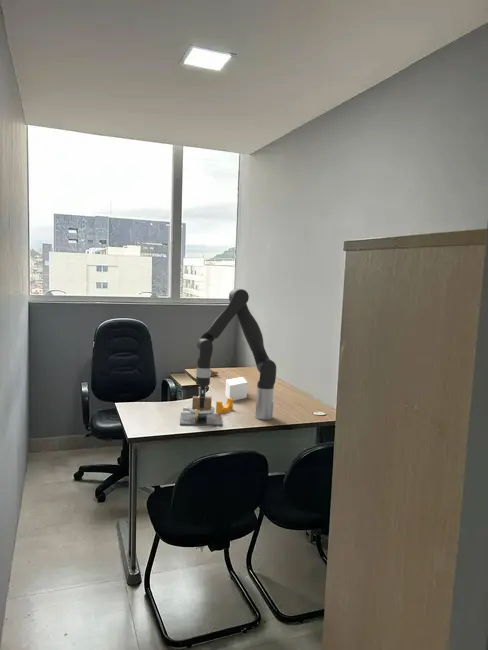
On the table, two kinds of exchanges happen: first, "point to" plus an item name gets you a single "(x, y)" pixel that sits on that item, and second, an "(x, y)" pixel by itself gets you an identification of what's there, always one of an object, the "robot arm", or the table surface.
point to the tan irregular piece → (213, 372)
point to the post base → (201, 419)
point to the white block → (236, 388)
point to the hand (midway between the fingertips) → (201, 406)
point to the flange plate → (200, 411)
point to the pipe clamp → (226, 408)
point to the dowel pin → (196, 415)
